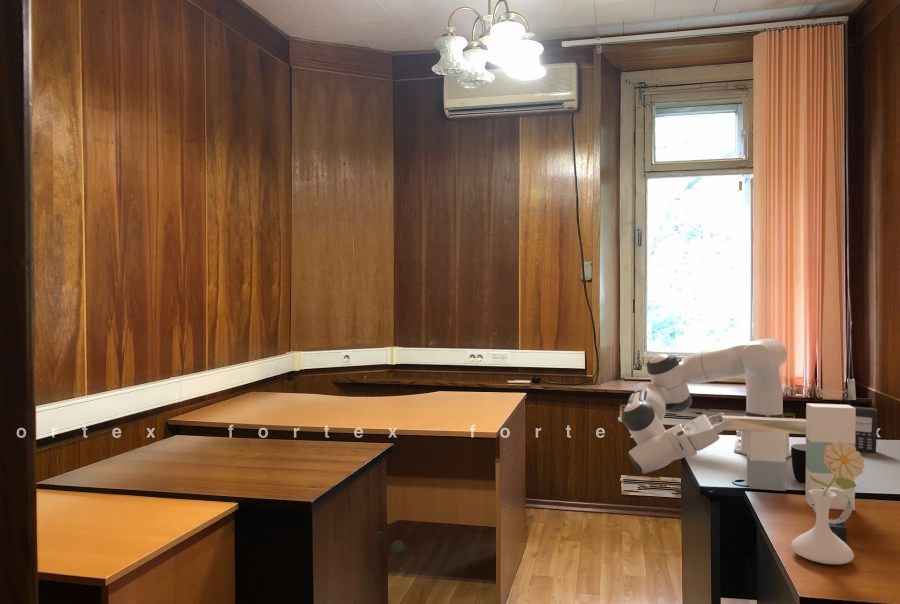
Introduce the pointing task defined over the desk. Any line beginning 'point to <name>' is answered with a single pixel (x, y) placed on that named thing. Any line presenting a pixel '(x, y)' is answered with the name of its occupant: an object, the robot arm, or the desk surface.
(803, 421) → the batten
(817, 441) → the tower
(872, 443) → the card reader
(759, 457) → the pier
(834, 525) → the watch
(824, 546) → the flower in vase
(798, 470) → the mug
